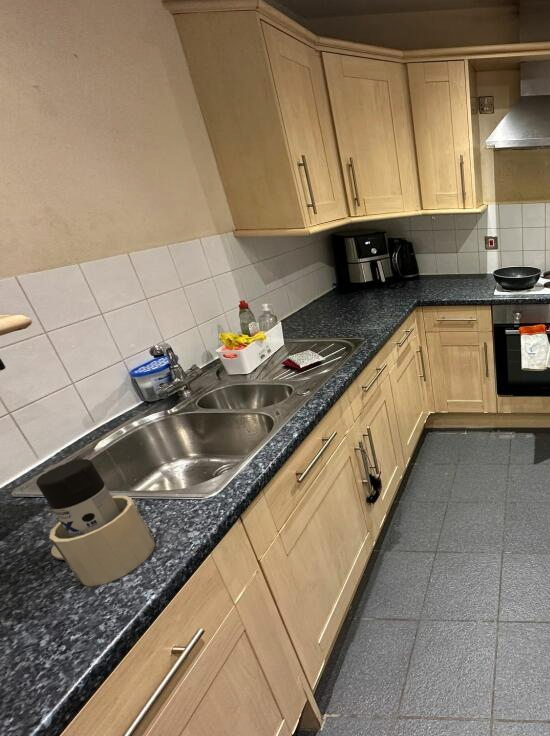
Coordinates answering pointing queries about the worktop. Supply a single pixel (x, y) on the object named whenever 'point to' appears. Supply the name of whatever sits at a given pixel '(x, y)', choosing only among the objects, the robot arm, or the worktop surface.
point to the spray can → (78, 497)
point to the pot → (107, 546)
